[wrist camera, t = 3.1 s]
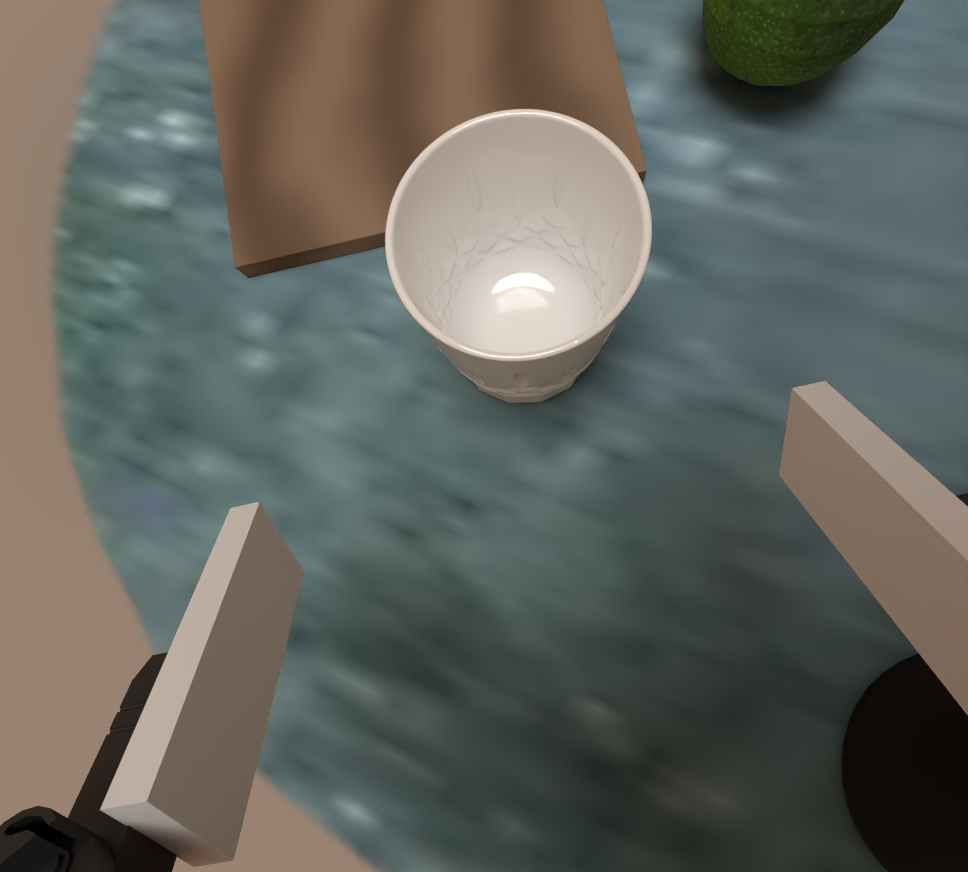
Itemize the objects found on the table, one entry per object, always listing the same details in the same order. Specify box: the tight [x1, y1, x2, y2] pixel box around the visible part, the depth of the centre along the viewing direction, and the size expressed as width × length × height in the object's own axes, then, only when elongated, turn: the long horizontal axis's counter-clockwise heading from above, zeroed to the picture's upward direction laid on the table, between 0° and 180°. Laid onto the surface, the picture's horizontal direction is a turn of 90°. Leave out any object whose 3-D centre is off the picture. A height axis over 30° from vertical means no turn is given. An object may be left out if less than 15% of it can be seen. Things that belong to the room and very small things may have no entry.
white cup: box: [385, 109, 652, 403], centre depth 21 cm, size 8×8×10 cm
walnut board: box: [199, 0, 647, 278], centre depth 28 cm, size 20×16×1 cm
